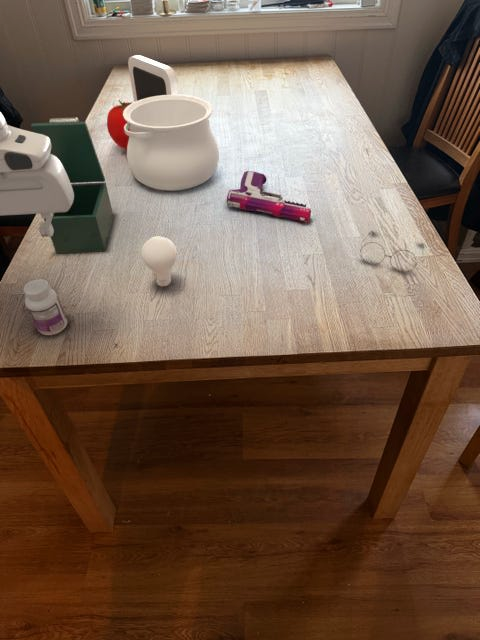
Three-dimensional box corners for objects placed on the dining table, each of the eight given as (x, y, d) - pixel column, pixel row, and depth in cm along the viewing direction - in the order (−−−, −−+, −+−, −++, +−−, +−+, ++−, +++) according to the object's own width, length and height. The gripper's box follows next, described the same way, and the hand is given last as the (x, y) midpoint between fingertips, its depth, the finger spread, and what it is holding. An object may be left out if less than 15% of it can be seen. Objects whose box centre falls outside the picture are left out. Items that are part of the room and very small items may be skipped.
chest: (105, 251, 99) (95, 216, 93) (56, 253, 99) (43, 218, 92) (113, 215, 109) (105, 182, 103) (69, 217, 109) (58, 184, 103)
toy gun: (322, 196, 114) (306, 228, 105) (244, 181, 120) (222, 210, 110) (324, 183, 112) (307, 214, 102) (244, 168, 117) (221, 196, 108)
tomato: (154, 154, 133) (147, 107, 124) (112, 158, 131) (102, 111, 122) (152, 138, 141) (145, 93, 132) (112, 142, 139) (102, 97, 130)
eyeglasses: (369, 232, 103) (373, 213, 99) (425, 246, 99) (432, 227, 95) (355, 260, 96) (359, 240, 92) (415, 276, 92) (422, 256, 88)
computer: (168, 71, 118) (176, 69, 119) (125, 54, 130) (133, 52, 131) (176, 152, 133) (184, 150, 135) (138, 131, 145) (145, 128, 147)
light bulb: (180, 273, 93) (174, 228, 86) (181, 294, 89) (175, 248, 81) (148, 276, 93) (139, 230, 85) (147, 297, 88) (138, 251, 80)
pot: (169, 206, 112) (160, 139, 100) (111, 175, 124) (96, 112, 112) (239, 170, 125) (238, 107, 113) (180, 145, 137) (174, 86, 125)
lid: (85, 124, 89) (87, 108, 91) (31, 126, 89) (34, 110, 91) (105, 181, 103) (106, 166, 105) (58, 183, 102) (60, 168, 105)
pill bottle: (41, 316, 85) (23, 277, 78) (70, 314, 85) (54, 275, 78) (34, 337, 81) (15, 297, 74) (65, 335, 81) (48, 295, 74)
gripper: (-112, 164, 58) (-59, 252, 67) (50, 156, 58) (79, 244, 68) (-90, 143, 62) (-44, 229, 72) (60, 136, 63) (86, 221, 72)
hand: (17, 236), depth 70 cm, fingers open, 8 cm apart
